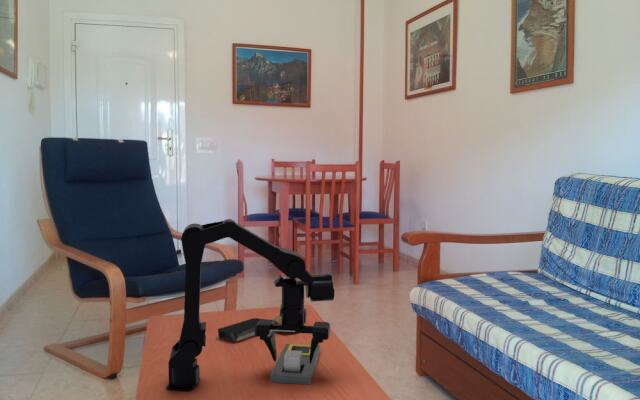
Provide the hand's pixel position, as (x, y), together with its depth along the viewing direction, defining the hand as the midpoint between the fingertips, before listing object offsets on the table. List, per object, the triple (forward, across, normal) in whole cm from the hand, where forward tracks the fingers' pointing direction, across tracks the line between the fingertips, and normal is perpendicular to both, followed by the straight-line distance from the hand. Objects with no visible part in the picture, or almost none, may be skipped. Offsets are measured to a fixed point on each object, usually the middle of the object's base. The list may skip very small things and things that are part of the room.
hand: (292, 361), depth 133 cm
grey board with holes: (+4, 0, -6) cm, 7 cm away
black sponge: (+4, +20, -28) cm, 35 cm away
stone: (+4, +7, -33) cm, 34 cm away
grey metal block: (+4, 0, 0) cm, 4 cm away
